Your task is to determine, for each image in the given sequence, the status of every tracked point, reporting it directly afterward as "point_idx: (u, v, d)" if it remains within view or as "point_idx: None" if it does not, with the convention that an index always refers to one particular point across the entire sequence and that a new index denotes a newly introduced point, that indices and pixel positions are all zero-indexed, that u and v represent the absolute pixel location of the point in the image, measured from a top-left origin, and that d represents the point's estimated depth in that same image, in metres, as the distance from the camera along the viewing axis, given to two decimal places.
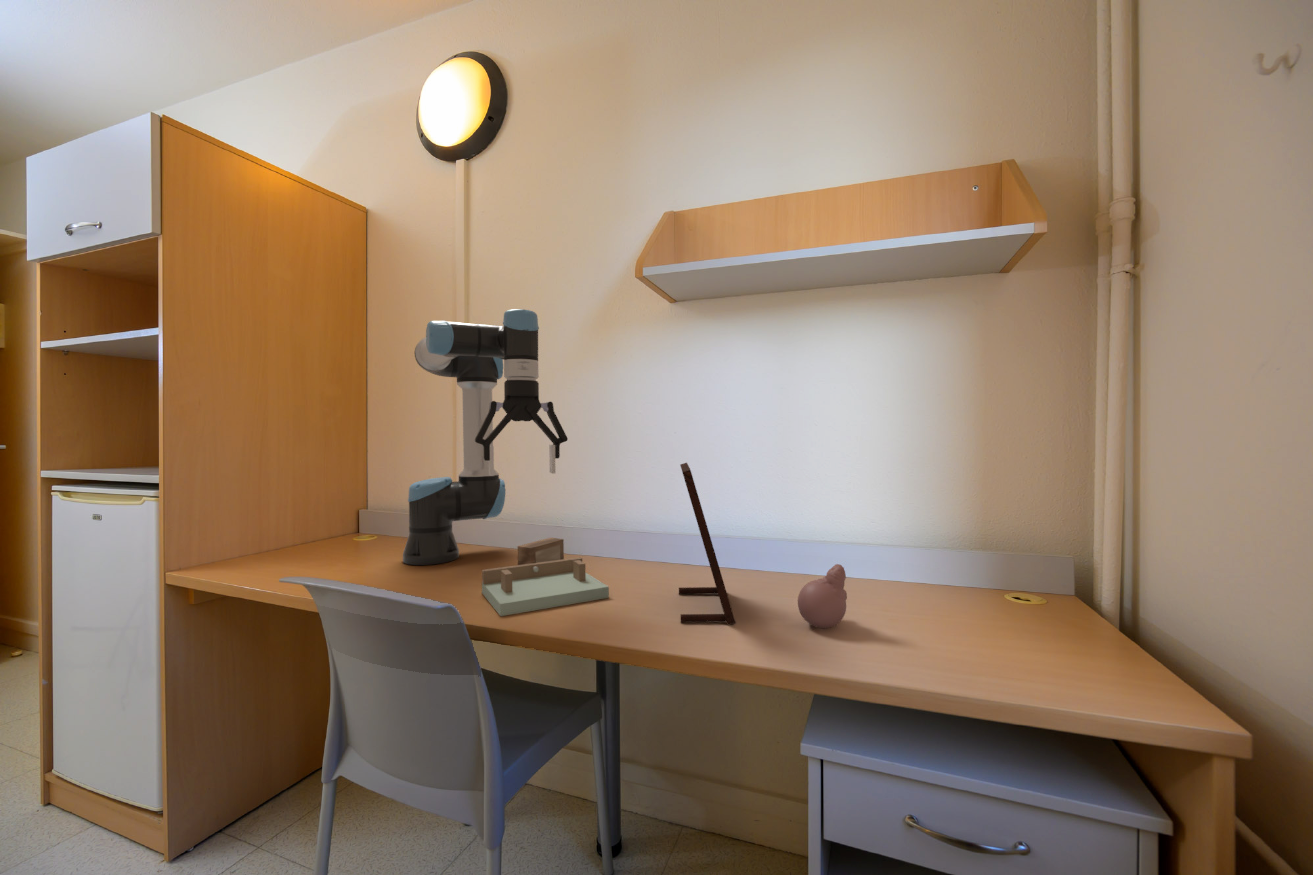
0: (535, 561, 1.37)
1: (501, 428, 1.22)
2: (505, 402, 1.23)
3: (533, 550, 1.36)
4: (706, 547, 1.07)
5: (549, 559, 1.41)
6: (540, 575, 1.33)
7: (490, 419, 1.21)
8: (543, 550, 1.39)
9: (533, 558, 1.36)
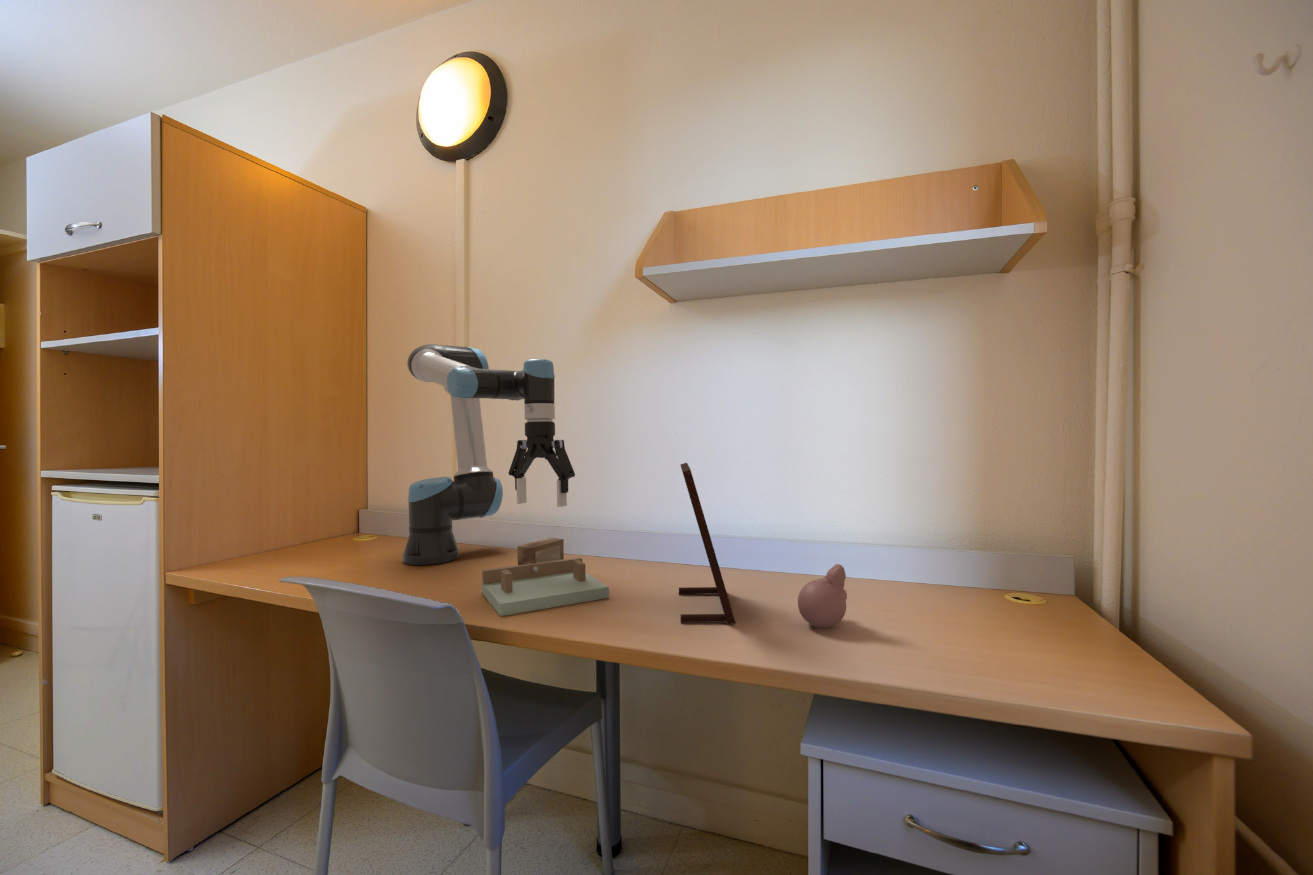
0: (535, 561, 1.37)
1: (523, 463, 1.42)
2: (526, 441, 1.42)
3: (533, 550, 1.36)
4: (706, 547, 1.07)
5: (549, 559, 1.41)
6: (540, 575, 1.33)
7: (516, 455, 1.43)
8: (543, 550, 1.39)
9: (533, 558, 1.36)
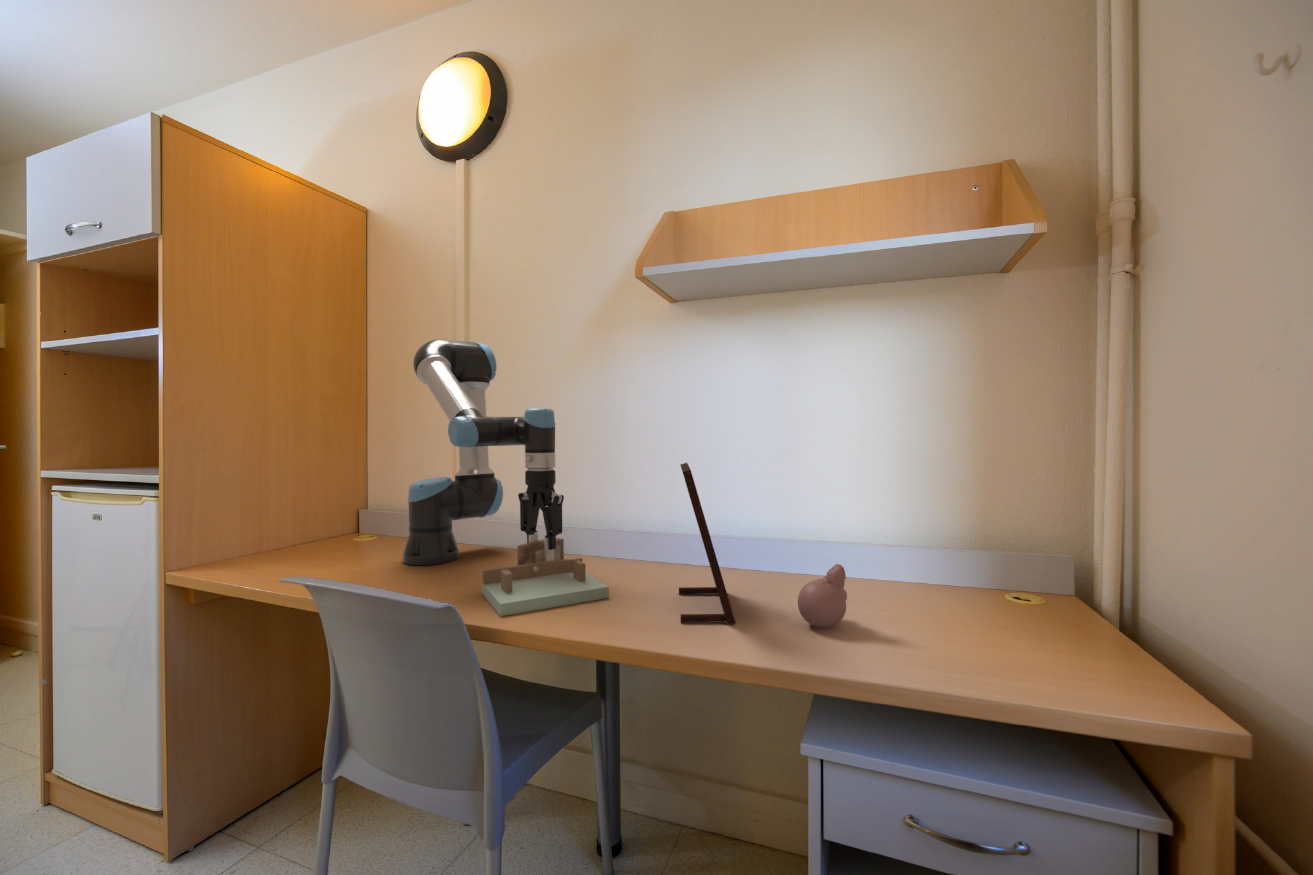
0: (535, 561, 1.37)
1: (530, 516, 1.42)
2: (526, 490, 1.42)
3: (533, 550, 1.36)
4: (706, 547, 1.07)
5: None
6: (540, 575, 1.33)
7: (522, 509, 1.43)
8: (543, 550, 1.39)
9: (533, 557, 1.36)
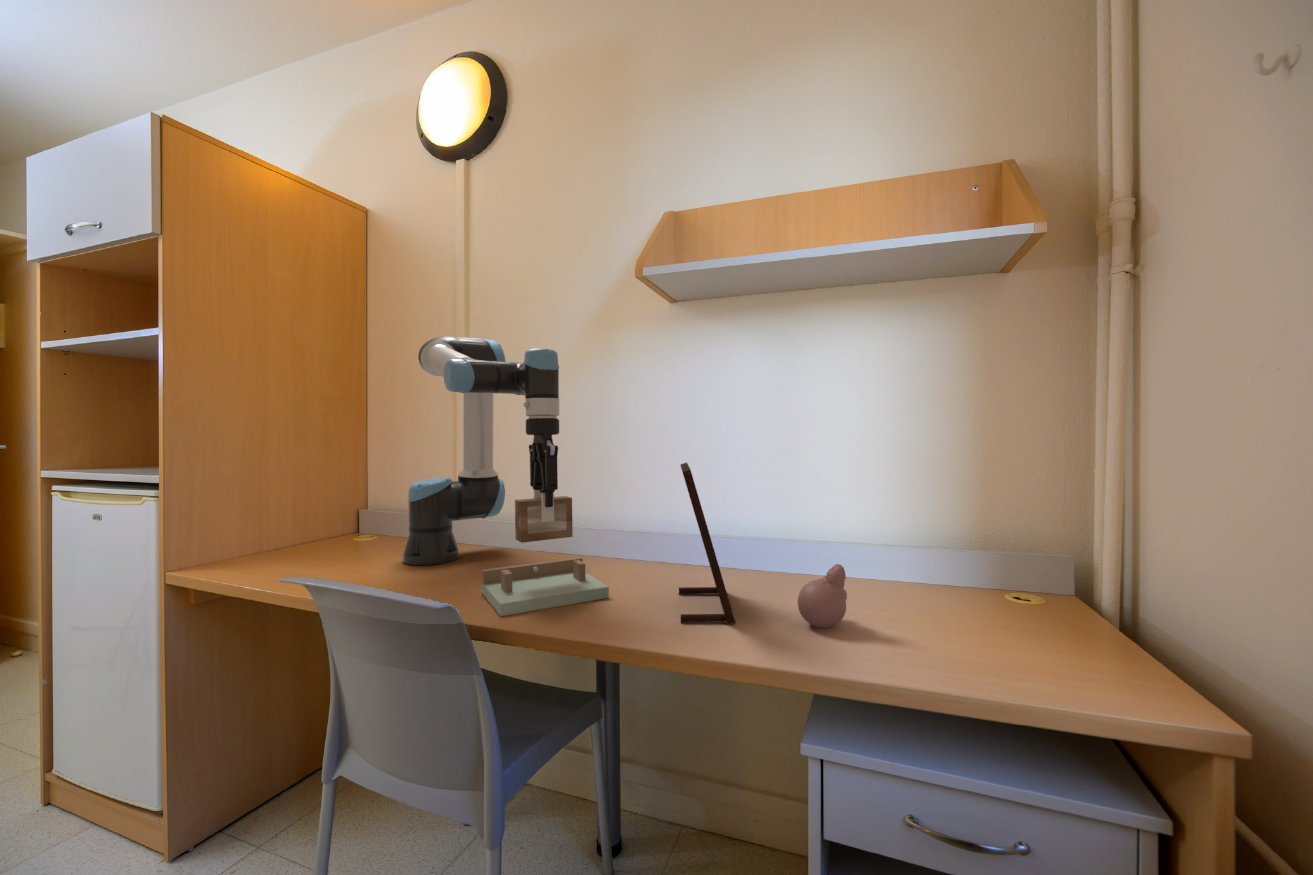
0: (527, 517, 1.23)
1: (535, 469, 1.28)
2: None
3: (524, 505, 1.23)
4: (706, 547, 1.07)
5: None
6: (540, 575, 1.33)
7: (530, 461, 1.31)
8: (539, 506, 1.24)
9: (525, 513, 1.23)
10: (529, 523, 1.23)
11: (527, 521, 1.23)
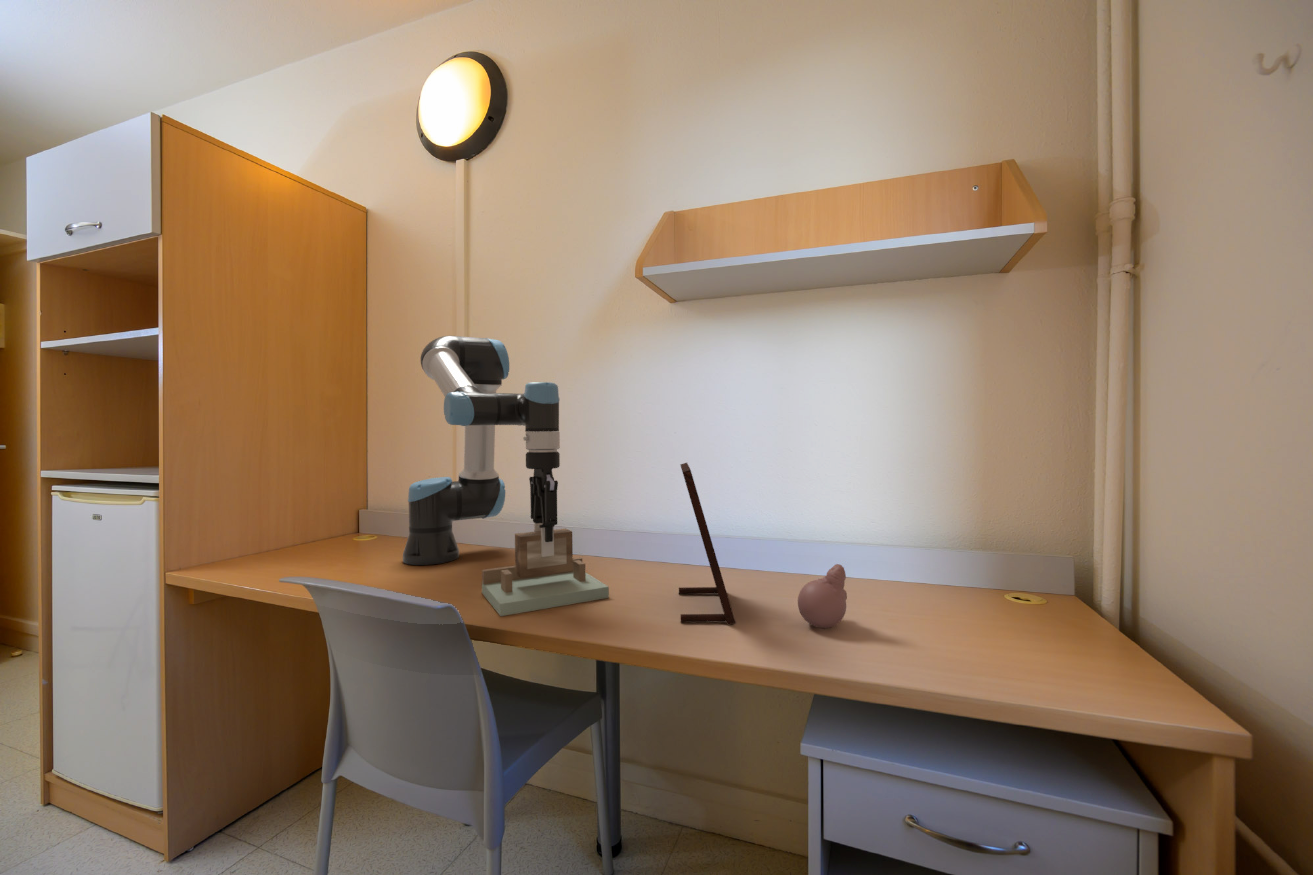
0: (527, 552, 1.22)
1: (535, 502, 1.28)
2: None
3: (524, 540, 1.22)
4: (706, 547, 1.07)
5: None
6: (540, 575, 1.33)
7: (531, 494, 1.30)
8: (539, 541, 1.24)
9: (524, 548, 1.22)
10: (529, 558, 1.22)
11: (527, 556, 1.22)
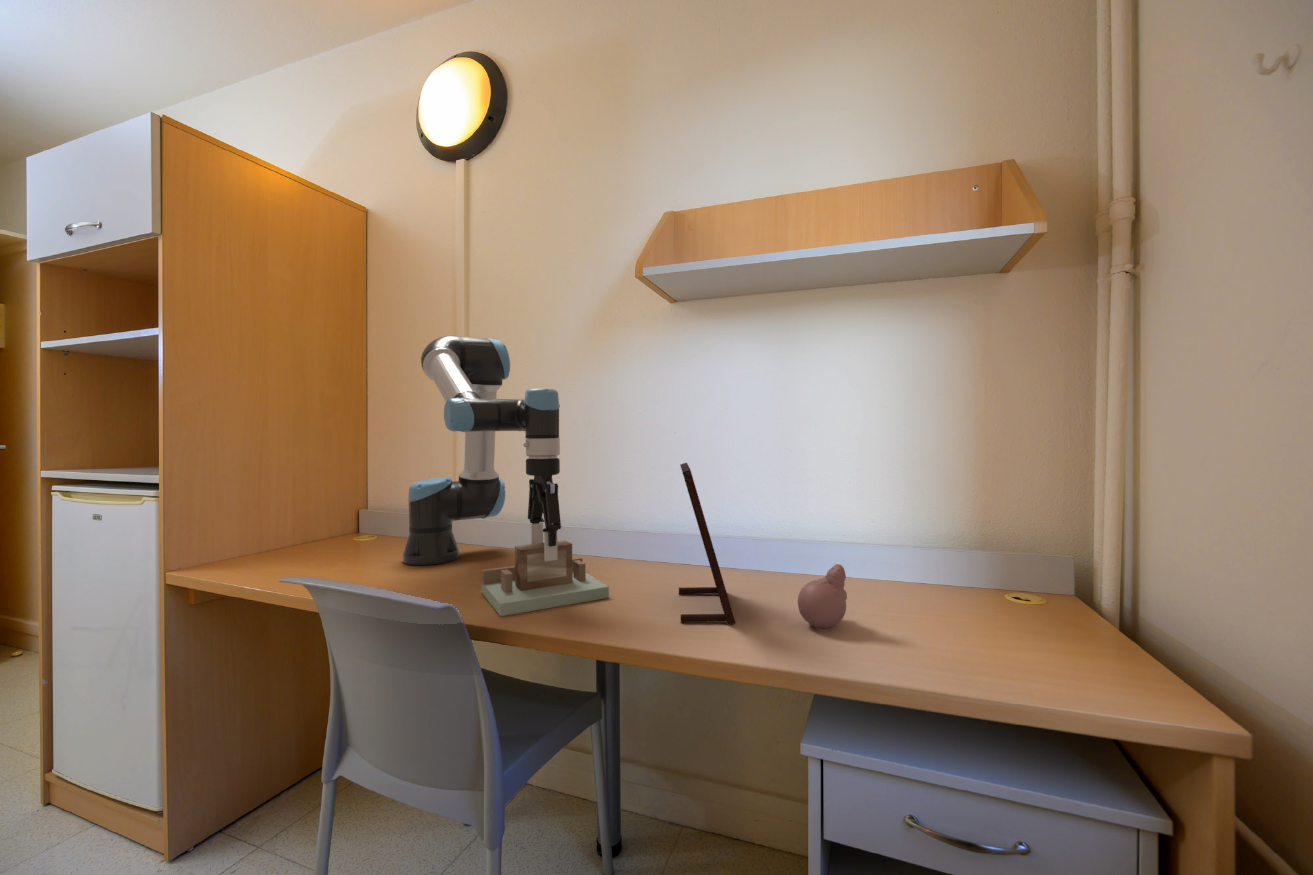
0: (527, 565, 1.22)
1: (533, 506, 1.29)
2: None
3: (524, 553, 1.22)
4: (706, 547, 1.07)
5: (549, 565, 1.25)
6: None
7: (530, 496, 1.31)
8: (539, 554, 1.24)
9: (524, 561, 1.22)
10: (529, 571, 1.23)
11: (527, 569, 1.22)
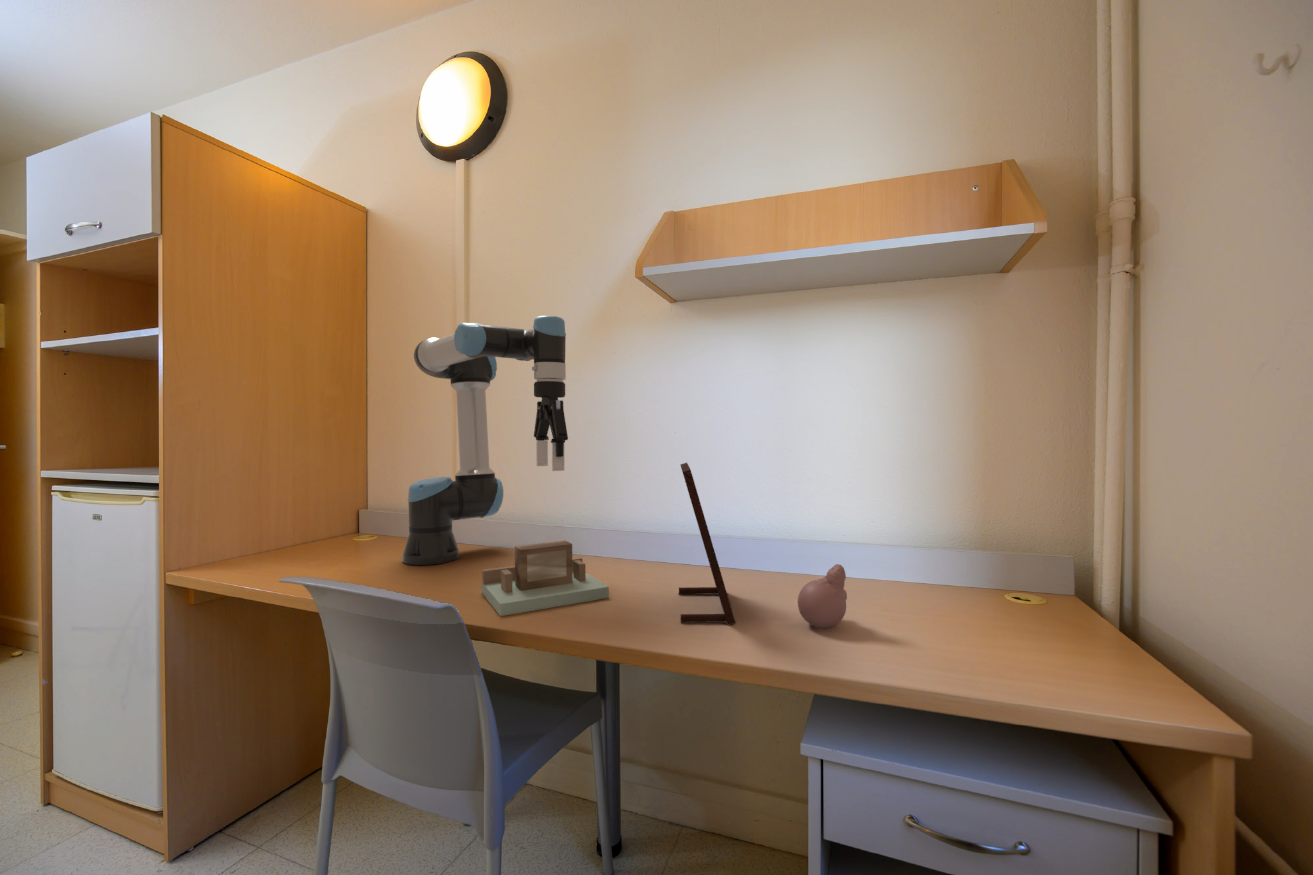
0: (527, 565, 1.22)
1: (539, 425, 1.39)
2: None
3: (524, 553, 1.22)
4: (706, 547, 1.07)
5: (549, 565, 1.25)
6: None
7: (537, 417, 1.41)
8: (539, 554, 1.24)
9: (524, 561, 1.22)
10: (529, 571, 1.23)
11: (527, 569, 1.22)
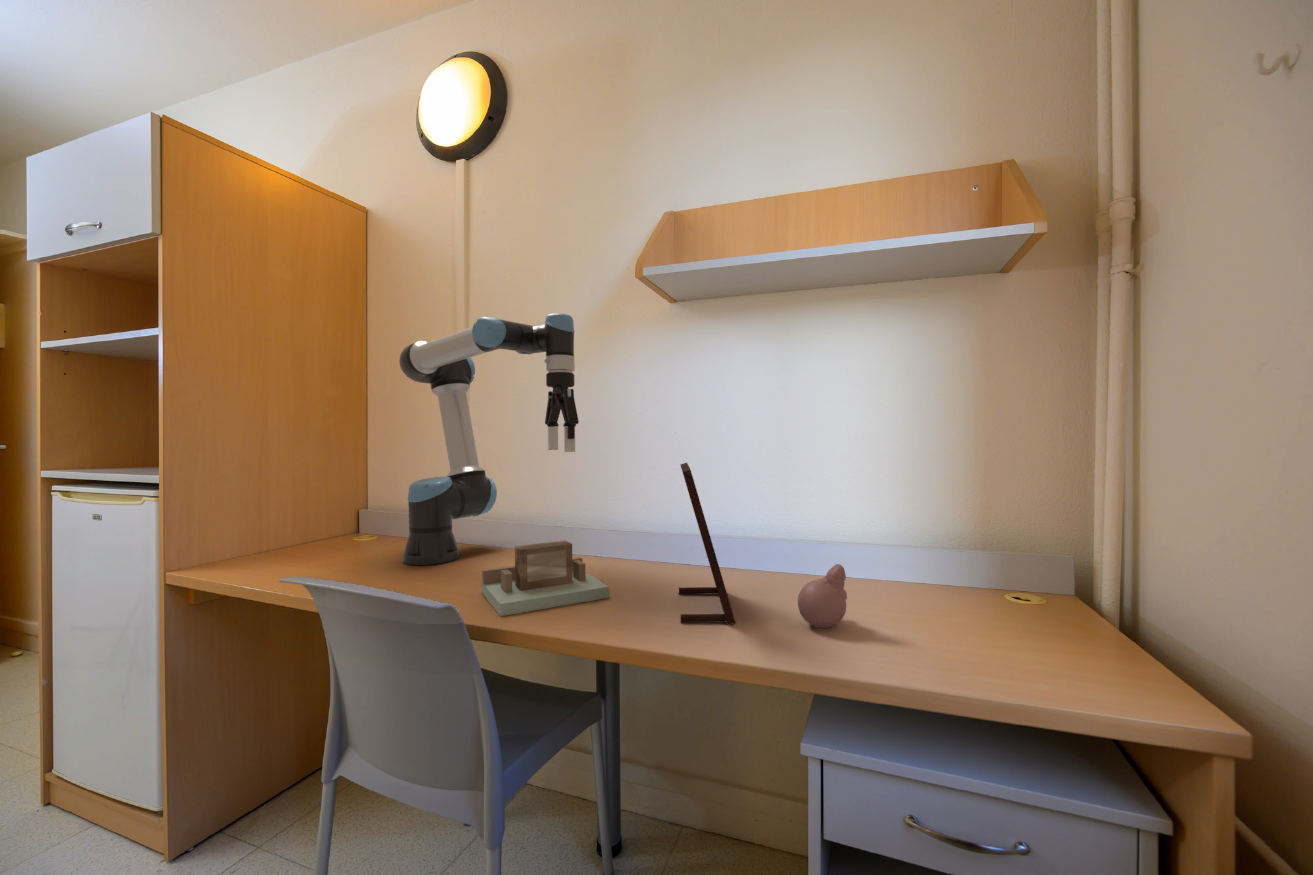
0: (527, 565, 1.22)
1: (551, 412, 1.54)
2: None
3: (524, 553, 1.22)
4: (706, 547, 1.07)
5: (549, 565, 1.25)
6: None
7: (548, 406, 1.56)
8: (539, 554, 1.24)
9: (524, 561, 1.22)
10: (529, 571, 1.23)
11: (527, 569, 1.22)
